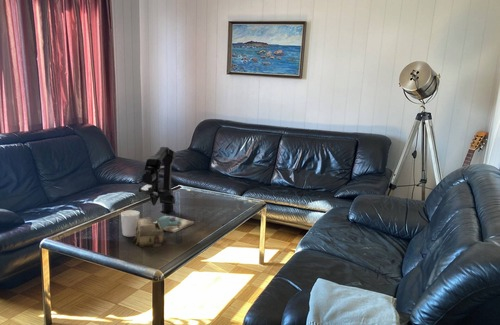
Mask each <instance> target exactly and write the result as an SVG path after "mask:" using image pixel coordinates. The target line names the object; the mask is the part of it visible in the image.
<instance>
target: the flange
mask: <svg viewBox="0 0 500 325" xmlns="http://www.w3.org/2000/svg"><path fill="white" fill-rule="evenodd" d="M169 216H170V217H169ZM175 217H176V216H174V215H163V216H161V217H159V218H158V217H157V219H156V221H157V223H159V224H160V226H161V228H164V227H166V226H168V225H177V223H178V221H180V223H181V220H180V219H179V218H180V217H177V218H175Z"/></svg>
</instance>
